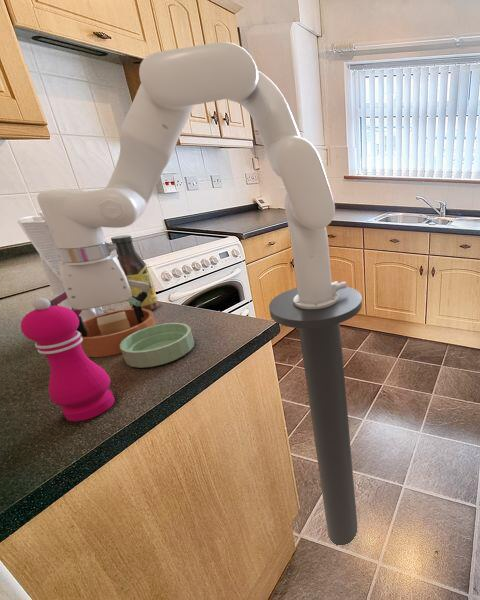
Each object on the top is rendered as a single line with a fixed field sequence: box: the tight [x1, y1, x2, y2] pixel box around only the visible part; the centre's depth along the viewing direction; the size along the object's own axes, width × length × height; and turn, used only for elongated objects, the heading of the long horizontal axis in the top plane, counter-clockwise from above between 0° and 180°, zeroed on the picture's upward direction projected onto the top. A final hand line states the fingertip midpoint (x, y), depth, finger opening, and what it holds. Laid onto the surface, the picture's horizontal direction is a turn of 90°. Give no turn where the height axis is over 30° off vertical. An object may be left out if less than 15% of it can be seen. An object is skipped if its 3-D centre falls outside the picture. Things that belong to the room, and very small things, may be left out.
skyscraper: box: [17, 209, 106, 321], centre depth 79 cm, size 8×8×28 cm
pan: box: [80, 308, 157, 358], centre depth 76 cm, size 14×14×4 cm
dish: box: [120, 322, 195, 368], centre depth 71 cm, size 12×12×4 cm
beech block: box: [97, 311, 131, 336], centre depth 75 cm, size 5×5×5 cm
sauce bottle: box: [110, 234, 159, 312], centre depth 88 cm, size 7×6×20 cm
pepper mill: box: [20, 297, 116, 423], centre depth 52 cm, size 7×7×20 cm
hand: (113, 327), depth 75 cm, fingers open, 9 cm apart
